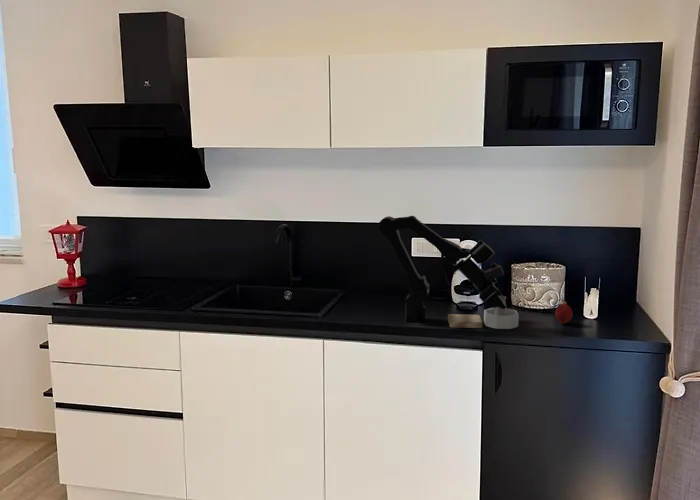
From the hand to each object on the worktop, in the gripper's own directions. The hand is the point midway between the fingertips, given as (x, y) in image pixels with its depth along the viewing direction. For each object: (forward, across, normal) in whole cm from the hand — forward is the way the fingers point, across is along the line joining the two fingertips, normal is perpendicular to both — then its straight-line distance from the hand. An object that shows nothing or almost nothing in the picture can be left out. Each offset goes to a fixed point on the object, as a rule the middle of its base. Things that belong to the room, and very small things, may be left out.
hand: (504, 305), depth 222 cm
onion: (+20, +5, -9) cm, 22 cm away
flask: (+4, 0, +6) cm, 7 cm away
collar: (+4, 0, +6) cm, 7 cm away
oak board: (-5, -2, +14) cm, 15 cm away
